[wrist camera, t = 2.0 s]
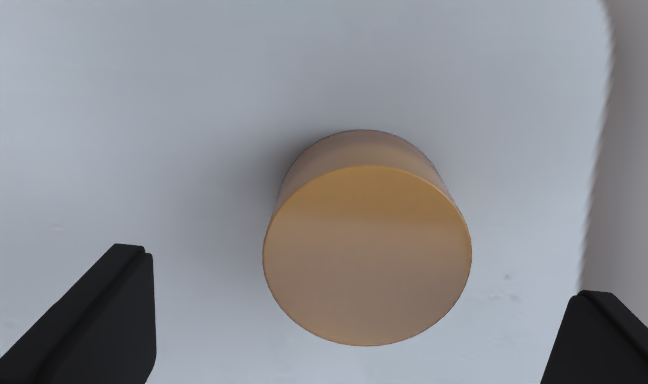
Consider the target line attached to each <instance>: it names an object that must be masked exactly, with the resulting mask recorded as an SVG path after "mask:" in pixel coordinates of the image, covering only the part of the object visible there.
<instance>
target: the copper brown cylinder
mask: <svg viewBox="0 0 648 384" xmlns="http://www.w3.org/2000/svg"><path fill="white" fill-rule="evenodd" d="M262 256H263V269H264V275H265V278H266V281H267V284H268V287H269V289H270V291H271V293H272V295H273V297H274V299H275V300H276V302H277V303H278V305H279V306H280V308H281V309H282V310H283V311H284V312H285V313H286V314H287V315H288V316H289V317H290V318H291V319H292V320H293V321H294V322H295V323H297V324H298V325H299V326H301V327H302V328H304V329H305V330H307V331H309V332H311V333H312V334H314V335H316V336H318V337H321V338H324V339H326V340H329V341H332V342H336V343H340V344H345V345H352V346H380V345H386V344H392V343H395V342H399V341H403V340H405V339H408V338H411V337H413V336H415V335H417V334H419V333H421V332H423V331H425V330H427V329H428V328H430V327H431V326H433V325H434V324H436V323H437V322H438V321H439V320H440V319H441V318H443V317H444V316H445V315H446V314H447V313H448V312H449V310H450V309H451V308H452V307H453V306H454V304H455V303H456V302H457V300H458V299H459V297H460V295H461V293H462V292H463V290H464V288H465V285H466V283H467V280H468V277H469V273H470V268H471V263H472V246H471V238H470V235H469V231H468V228H467V225H466V223H465V221H464V218H463V216H462V214H461V212H460V211H459V209H458V207H457V205H456V204H455V202H454V200H453V199H452V197H451V195H450V193H449V192H448V190H447V188H446V186H445V185H444V183H443V181H442V180H441V178H440V176H439V174H438V173H437V171H436V169H435V168H434V166H433V165H432V163H431V162H430V161H429V159H428V158H427V157H426V156H425V155H424V154H423V153H422V152H421V151H420V150H418V149H417V148H416V147H415V146H413V145H412V144H410V143H409V142H407V141H406V140H403V139H401V138H399V137H397V136H394V135H391V134H388V133H385V132H379V131H374V130H353V131H346V132H342V133H337V134H335V135H332V136H329V137H326V138H324V139H322V140H320V141H318V142H317V143H315V144H314V145H312V146H311V147H309V148H308V149H307V150H305V151H304V152H303V153H302V154H301V155H300V156H299V157H298V158H297V159H296V161H295V162H294V163H293V164H292V166H291V167H290V169H289V170H288V172H287V174H286V176H285V178H284V180H283V182H282V185H281V189H280V192H279V195H278V198H277V201H276V204H275V207H274V210H273V213H272V216H271V219H270V222H269V225H268V228H267V231H266V235H265V238H264V244H263V252H262Z"/></svg>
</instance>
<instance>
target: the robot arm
mask: <svg viewBox="0 0 648 384" xmlns="http://www.w3.org/2000/svg"><path fill="white" fill-rule="evenodd" d="M155 360H156V325H155V299H154V274H153V257H152V254H150V253H145V249H144V247H143V246H137V245H127V244H114V245H113V246H112V247H111V248H110V249H109V250H108V251H107V252H106V253H105V254H104V255H103V256H102V257H101V258H100V259H99V260H98V261H97V262H96V263H95V264H94V265H93V266H92V267H91V268H90V269H89V270H88V271H87V272H86V273H85V274H84V275H83V276H82V277H81V278H80V279H79V280H78V281H77V282H76V283H75V284H74V285H73V286H72V287H71V288H70V289H69V290H68V291H67V292H66V294H65V295H64V296H63V297H62V298H61V299H60V300H59V301H58V302H56V303H55V304H54V305H53V306H52V307H51V308H50V309H49V310H48V311H47V312H46V313H45V314H44V315H43V316H42V317H41V318H40V319H39V320H38V321H37V322H36V323H35V324H34V325H33V326H32V327H31V328H30V329H29V330H28V331H27V332H26V333H25V334H24V335H23V336H22V337H21V338H20V339H19V340H18V341H17V342H16V343H15V344H14V345H13V346H12V347H11V348H10V349H9V350H8V351H7V352H6V353H5V354H4V355H3V356H2V357H1V358H0V384H145V383H146V381H147V379H148V377H149V375H150V373H151V371H152V369H153V367H154V364H155ZM540 384H648V328H647V327H646V326H645V325H644V324H643V323H642V322H641V321H640V320H639V319H638V318H637V317H636V316H635V315H634V314H633V313H632V312H631V311H630V310H629V309H628V308H627V307H626V306H625V305H624V304H623V303H622V302H621V301H620V300H619V299H618V298H617V297H616V296H615V295H613V294H612V293H608V292H599V291H589V290H582V291H580V292H579V293H578V294H577V296H572V297H571V298H570V300H569V302H568V305H567V308H566V311H565V314H564V317H563V320H562V323H561V325H560V328H559V331H558V334H557V337H556V340H555V343H554V346H553V348H552V351H551V354H550V357H549V360H548V363H547V366H546V369H545V371H544V374H543V377H542V380H541V383H540Z"/></svg>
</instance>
